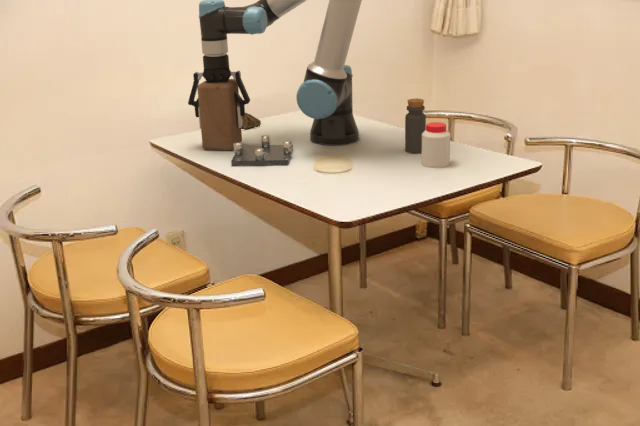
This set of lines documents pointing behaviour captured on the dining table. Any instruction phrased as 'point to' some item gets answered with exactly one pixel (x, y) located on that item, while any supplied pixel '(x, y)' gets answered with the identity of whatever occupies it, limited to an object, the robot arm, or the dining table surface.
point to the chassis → (262, 153)
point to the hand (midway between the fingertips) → (221, 127)
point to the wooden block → (219, 115)
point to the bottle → (414, 126)
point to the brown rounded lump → (249, 121)
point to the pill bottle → (435, 145)
